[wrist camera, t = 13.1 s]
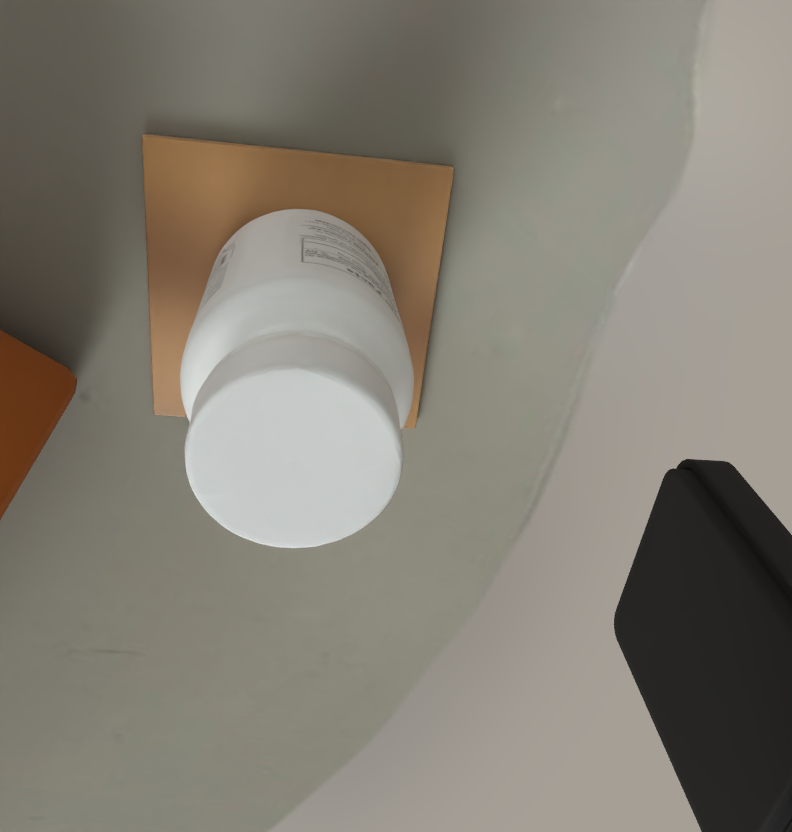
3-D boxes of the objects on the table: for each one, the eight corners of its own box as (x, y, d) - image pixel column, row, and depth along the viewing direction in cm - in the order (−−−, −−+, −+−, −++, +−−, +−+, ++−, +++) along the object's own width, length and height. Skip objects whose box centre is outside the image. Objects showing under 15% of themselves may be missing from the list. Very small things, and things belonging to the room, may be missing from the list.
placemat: (144, 133, 17) (141, 135, 16) (452, 165, 18) (455, 168, 17) (155, 409, 20) (153, 415, 20) (414, 423, 21) (415, 429, 21)
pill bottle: (250, 395, 20) (220, 603, 13) (180, 238, 17) (99, 389, 11) (410, 346, 19) (464, 531, 13) (359, 180, 17) (391, 297, 10)
